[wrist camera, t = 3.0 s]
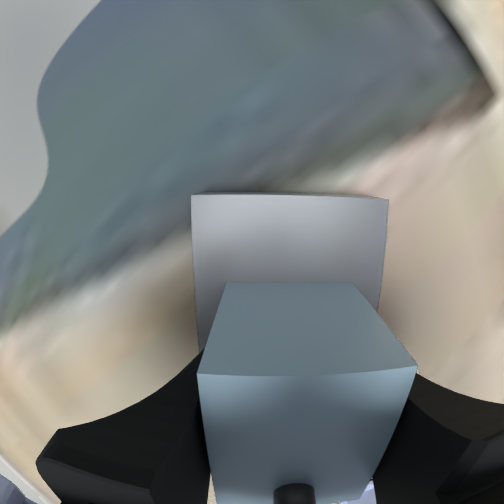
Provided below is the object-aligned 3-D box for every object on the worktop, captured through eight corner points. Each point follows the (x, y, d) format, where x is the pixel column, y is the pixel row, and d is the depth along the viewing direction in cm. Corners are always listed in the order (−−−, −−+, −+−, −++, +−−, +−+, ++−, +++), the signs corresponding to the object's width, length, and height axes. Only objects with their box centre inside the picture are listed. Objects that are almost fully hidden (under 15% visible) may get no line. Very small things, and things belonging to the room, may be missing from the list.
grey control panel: (366, 195, 12) (391, 200, 10) (322, 466, 17) (327, 496, 14) (204, 192, 13) (189, 195, 10) (221, 467, 17) (217, 498, 14)
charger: (340, 268, 12) (433, 386, 5) (326, 379, 14) (363, 517, 6) (231, 267, 13) (188, 399, 5) (234, 379, 14) (214, 524, 6)
